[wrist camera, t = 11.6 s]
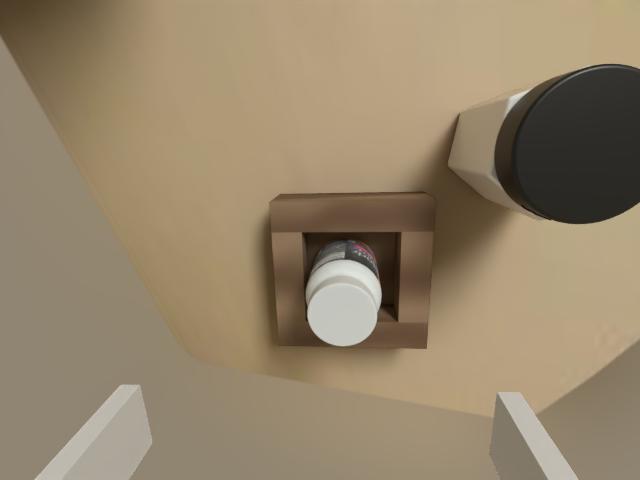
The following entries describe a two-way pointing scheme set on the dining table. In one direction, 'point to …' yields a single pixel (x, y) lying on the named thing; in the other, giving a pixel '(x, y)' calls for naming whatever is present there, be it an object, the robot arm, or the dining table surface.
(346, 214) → the socket block
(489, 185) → the jar
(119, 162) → the dining table surface
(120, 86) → the dining table surface
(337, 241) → the pill bottle
